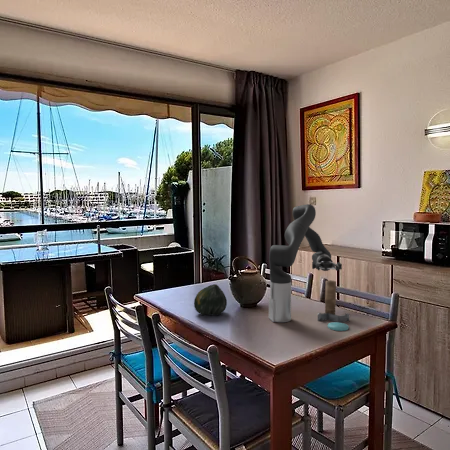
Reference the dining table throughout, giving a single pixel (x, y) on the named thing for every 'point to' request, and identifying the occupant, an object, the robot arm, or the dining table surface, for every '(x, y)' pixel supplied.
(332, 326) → the teal pad
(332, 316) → the zigzag rail
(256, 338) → the dining table surface
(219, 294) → the squash
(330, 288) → the walnut peg
